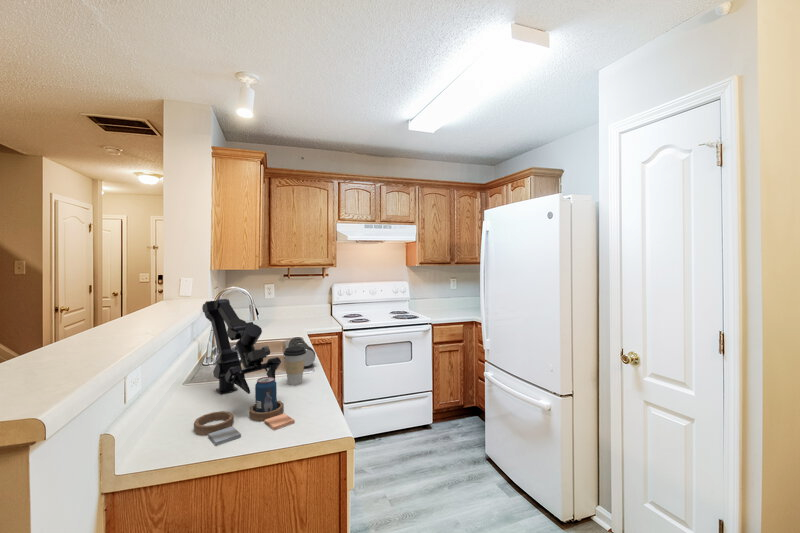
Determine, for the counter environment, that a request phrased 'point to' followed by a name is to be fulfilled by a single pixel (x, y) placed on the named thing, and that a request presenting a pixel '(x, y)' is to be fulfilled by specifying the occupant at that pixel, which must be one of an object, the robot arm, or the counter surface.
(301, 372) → the coffee cup
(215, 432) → the grey tag ring
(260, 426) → the counter surface
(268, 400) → the soda can
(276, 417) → the terracotta tag ring
